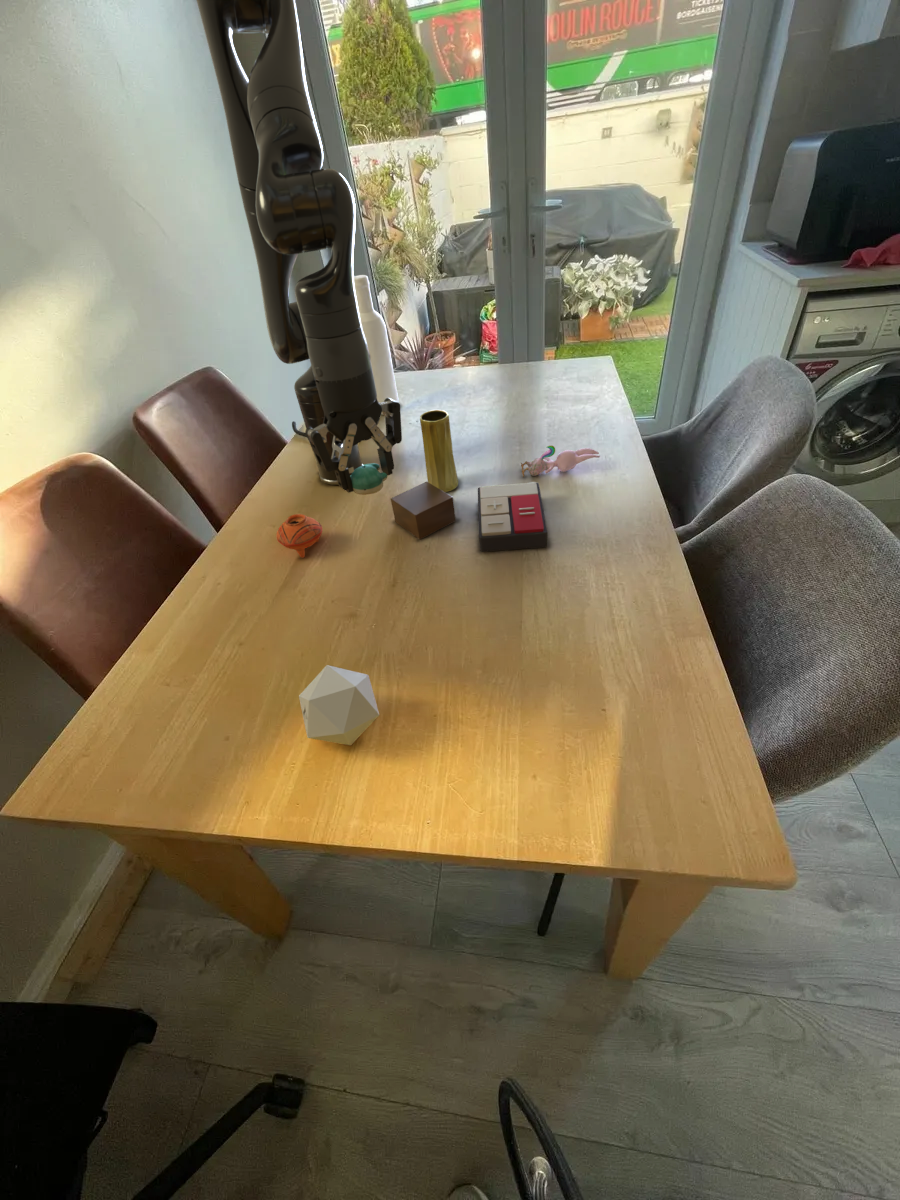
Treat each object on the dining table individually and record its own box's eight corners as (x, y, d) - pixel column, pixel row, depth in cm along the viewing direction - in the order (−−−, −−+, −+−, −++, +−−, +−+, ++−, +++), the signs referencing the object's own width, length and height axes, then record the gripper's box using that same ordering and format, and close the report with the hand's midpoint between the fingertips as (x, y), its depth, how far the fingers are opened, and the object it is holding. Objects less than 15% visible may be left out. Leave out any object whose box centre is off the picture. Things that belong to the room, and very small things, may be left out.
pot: (271, 559, 95) (262, 522, 92) (297, 543, 102) (290, 507, 99) (310, 564, 93) (302, 525, 90) (334, 546, 99) (328, 510, 96)
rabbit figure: (524, 487, 107) (603, 470, 104) (518, 460, 103) (600, 441, 100) (522, 472, 112) (597, 455, 109) (517, 445, 108) (594, 427, 105)
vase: (455, 493, 106) (447, 422, 97) (424, 493, 107) (413, 423, 98) (461, 477, 110) (453, 408, 101) (431, 477, 112) (421, 409, 102)
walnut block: (395, 522, 101) (390, 498, 97) (430, 504, 104) (426, 481, 101) (419, 539, 96) (415, 515, 92) (456, 521, 99) (453, 496, 95)
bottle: (398, 413, 138) (374, 278, 119) (367, 416, 139) (339, 282, 119) (401, 400, 144) (378, 270, 125) (371, 404, 145) (344, 274, 125)
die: (331, 694, 72) (273, 683, 64) (384, 663, 69) (330, 648, 61) (346, 756, 68) (286, 753, 60) (402, 726, 66) (348, 719, 57)
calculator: (478, 534, 88) (477, 483, 99) (480, 555, 91) (478, 503, 102) (547, 529, 87) (538, 478, 98) (547, 550, 90) (538, 498, 101)
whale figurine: (346, 499, 80) (340, 476, 78) (354, 473, 86) (349, 451, 83) (385, 496, 80) (381, 473, 77) (391, 471, 85) (387, 448, 82)
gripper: (375, 345, 76) (395, 456, 87) (279, 376, 71) (314, 490, 82) (404, 357, 71) (421, 472, 82) (303, 391, 66) (337, 510, 77)
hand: (368, 481), depth 82 cm, fingers closed on whale figurine, 6 cm apart
